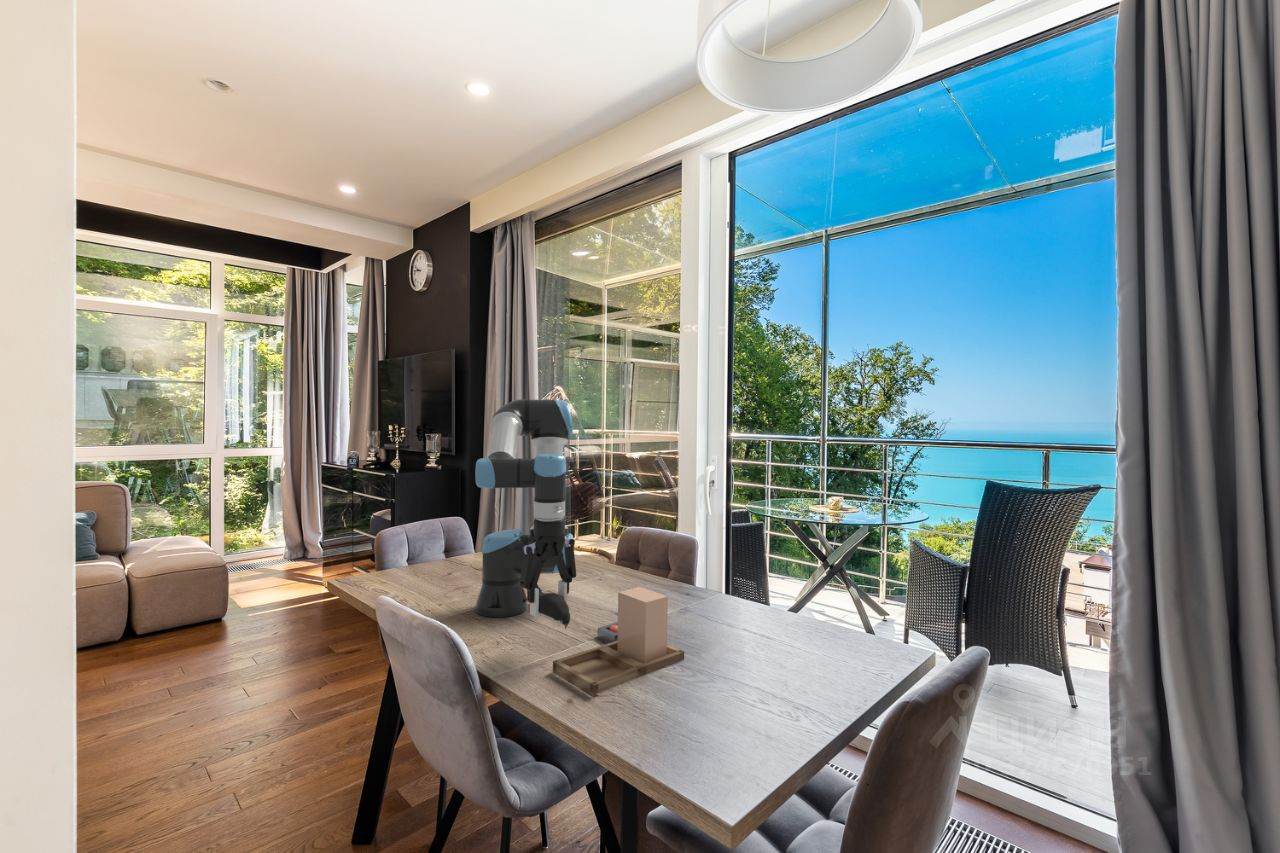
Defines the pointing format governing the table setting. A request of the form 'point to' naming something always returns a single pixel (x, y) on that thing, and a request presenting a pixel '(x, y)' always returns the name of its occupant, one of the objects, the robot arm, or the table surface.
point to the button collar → (607, 633)
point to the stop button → (614, 628)
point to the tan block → (642, 624)
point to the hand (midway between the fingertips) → (548, 611)
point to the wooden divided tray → (608, 667)
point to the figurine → (553, 607)
